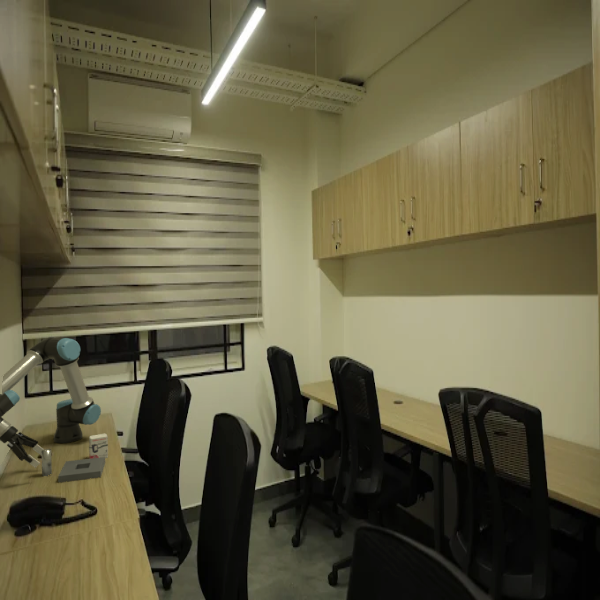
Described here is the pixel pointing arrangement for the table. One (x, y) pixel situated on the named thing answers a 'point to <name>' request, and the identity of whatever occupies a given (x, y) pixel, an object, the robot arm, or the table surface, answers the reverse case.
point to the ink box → (98, 446)
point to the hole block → (82, 469)
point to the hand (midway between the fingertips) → (41, 459)
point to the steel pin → (46, 462)
